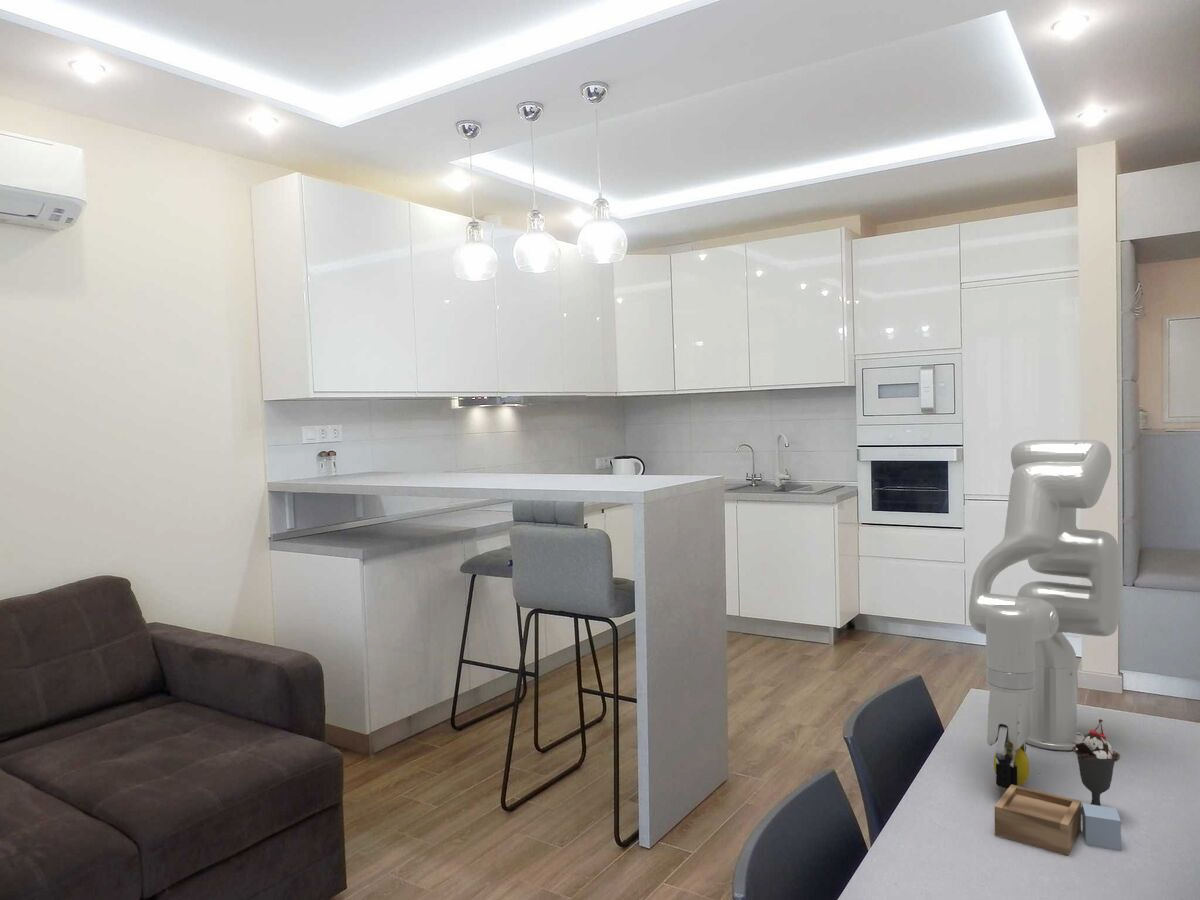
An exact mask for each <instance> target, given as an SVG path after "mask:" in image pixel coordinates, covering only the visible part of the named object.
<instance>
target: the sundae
mask: <svg viewBox="0 0 1200 900" xmlns="http://www.w3.org/2000/svg"><path fill="white" fill-rule="evenodd" d="M1102 723H1103V719H1098V726H1096V728H1095V729H1091V730H1089V733H1088V734H1085V735H1084V737H1083V739H1082V741H1081V743H1076V744H1075V745H1076V746H1074V747H1072V749H1073V750H1072V751H1073V752H1074V753H1075V754H1076V756H1077V762H1078V768H1079V775H1080V779H1081V783H1082V785H1083V786H1084V787H1085V788H1086V789H1087V790H1088V791H1090V793H1091V802H1090V804H1091V805H1097V806H1102V805H1101V794H1103V793H1105V792H1106V791H1108V790H1109V789H1111V785H1112V779H1113V772H1114V767H1115V763H1116V762H1118V761H1119V760H1120V757H1121V755H1120V753H1119V752H1117V751H1115V750H1114V749H1113V747H1112V745H1111V744H1110V743H1109V742H1108V741H1107V740H1106V739H1107V736H1106V735H1105V733H1104V732H1103V731H1104V729H1103V724H1102ZM1099 727H1100V731H1101V732H1099V733H1098V731H1097V730H1098V729H1099ZM1081 815H1082V805H1081Z"/></svg>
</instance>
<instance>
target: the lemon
mask: <svg viewBox="0 0 1200 900" xmlns="http://www.w3.org/2000/svg"><path fill="white" fill-rule="evenodd" d="M1006 746H1007V747H1012V744H1007V745H1006ZM1006 754H1009V756H1010V758H1011V751H1007V750H1006ZM1015 766H1017V786H1023V785H1024V784H1025V783H1026V782H1027V781H1028V778H1029V775H1030V763H1029V758H1028V756H1027V753H1026V752H1024V751H1023V750H1022V749H1021V748H1019V749H1017V750H1016V758H1015ZM993 770H994V772H995V773H994V774H996V752H995V754H994V758H993Z"/></svg>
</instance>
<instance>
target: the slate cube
mask: <svg viewBox="0 0 1200 900" xmlns="http://www.w3.org/2000/svg"><path fill="white" fill-rule="evenodd" d="M1081 806H1082V814H1081V830H1082V831H1081V832H1082V835H1083V839H1084V840H1083V841H1084V843H1085V845H1086V846H1090V847H1091V846H1092V847H1098V848H1103V849H1108V850H1115V851H1120V852H1121V851H1122V827H1121V826H1122V824H1121V823H1122V821H1121V817H1120V815H1119V813H1118V809H1117V808H1116V807H1111V806H1110V807H1109V806H1103V805H1101V806H1097V805H1091V803H1085V802H1084V803H1083V802H1081Z"/></svg>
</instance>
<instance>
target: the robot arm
mask: <svg viewBox="0 0 1200 900" xmlns="http://www.w3.org/2000/svg"><path fill="white" fill-rule="evenodd" d="M1010 462H1011V466H1012V467H1011V468H1012V469H1013V473H1012V474H1011V478H1010V485H1009V492H1008V493H1009V494H1008V500H1007V501H1008V503H1007V509H1006V518H1005V528H1004V535H1003V539H1002V540H1001V541H1000V542H999V543H998V544H997V545H995V546H994V547H993V548H992V549H991V550H989V552H988V553H987V554H986V555H984V557H983V558H982V560H981V561H980V562H979V564H978V566H977V567H976V569H975V571H974V574H973V576H972V582H971V589H970V596H969V604H968V619H969V623H970V625H971V627H972V628H973V630H975V632H978V633H980V634H982V635H985V649H986V650H985V652H986V653H985V654H986V655H985V658H986V659H985V661H986V662H985V663H986V665H985V667H986V668H985V671H986V678H985V680H986V686H988V687H989V688H990V690H989V695H988V696H989V697H988V705H987V707H988V708H987V730H986V731H987V732H986V733H987V735H986V736H987V737H986V738H987V739H986V742H987V744H988V745H989V746H994V745H995V744H996V747H995V753H996V773H995V779H996V780H995V781H996V782H995V784H996V786H997V787H999V788H1003V789H1006V790H1007V789H1008V788H1009V786H1010V785H1011V784H1013V785H1017V766H1015V758H1016V750H1017V749H1019V748H1021V749H1022V750H1023V751H1024V752H1025V753H1026V752H1027V746H1026V745H1027V744H1029V745H1030V746H1034V747H1037V748H1041V749H1045V750H1047V749H1048V750H1052V751H1053V750H1055V751H1073V749H1072V747H1074V746H1076V745H1075V744H1076V743H1081V741H1082V739H1083V737H1084V736H1085V735H1084V734H1083V733H1081V732H1080V731H1078V730H1077V729H1078V728H1077V727H1078V726H1077V725H1078V724H1077V721H1078V720H1077V719H1078V718H1077V711H1078V710H1077V705H1078V704H1077V701H1078V700H1077V698H1078V697H1077V692H1078V691H1077V684H1078V683H1077V682H1078V681H1077V653H1076V651H1075V649H1074V646H1073V645H1072V644H1071V642H1070V640H1069V639H1067V637H1066V636H1065V634H1067V633H1068V634H1075V635H1076V634H1077V635H1083V636H1084V635H1086V636H1091V637H1092V636H1093V637H1109V636H1111V635H1113V634H1115V632H1116V631H1117V629H1118V625H1119V619H1120V589H1121V587H1120V583H1121V582H1120V581H1121V580H1120V579H1121V578H1120V577H1121V574H1120V572H1121V569H1120V568H1121V562H1120V561H1121V560H1120V559H1121V558H1120V555H1121V554H1120V549H1119V544H1118V542H1117V540H1116V537H1114V535H1113V534H1112V533H1109V532H1108V531H1104V530H1096V529H1082V528H1081V529H1079V528H1077V509H1087V510H1088V509H1092V508H1094V507H1095V506H1096V505H1097V504H1098V502H1099V501H1100V498H1101V496H1102V493H1103V490H1104V488H1105V485H1106V482H1107V480H1108V477H1109V475H1110V472H1111V467H1112V454H1111V452H1110V449H1109V447H1108V446H1107V444H1106V443H1104V442H1103V441H1101V440H1097V439H1033V440H1025V441H1021V442H1018V443H1017V444H1015V445H1014V446H1013V447H1012V449H1011V452H1010ZM1026 560H1027V563H1028V565H1029V567H1030V568H1031V570H1033V571H1034V572H1036V573H1038V574H1043V575H1049V576H1056V577H1057V576H1059V577H1069V578H1078V579H1079V578H1081V579H1086V580H1089V581H1090V582H1091V585H1086V584H1074V583H1066V582H1059V581H1058V582H1057V581H1042V580H1039V581H1030V582H1027V583H1025V584H1023V585H1022V586H1021V587H1020V588H1019V590H1018V591H1017V595H1011V594H1010V595H1009V594H999V593H992V592H991V589H992V586H993V583H994V582H995V581H994V580H995V579H996V578H997V576H998V575H999V574H1000V573H1001V572H1003V571H1004V570H1005V569H1007V568H1008V567H1011V566H1013V565H1015V564H1018V563H1019V562H1022V561H1026ZM1064 633H1065V634H1064ZM1007 744H1012V747H1007V746H1006V745H1007ZM1006 750H1007V751H1011V758H1010V756H1009V754H1006Z"/></svg>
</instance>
